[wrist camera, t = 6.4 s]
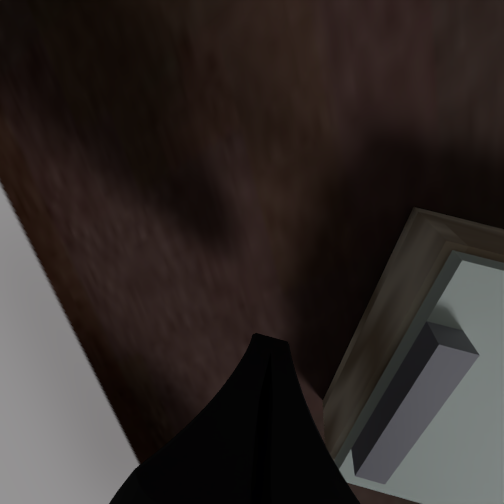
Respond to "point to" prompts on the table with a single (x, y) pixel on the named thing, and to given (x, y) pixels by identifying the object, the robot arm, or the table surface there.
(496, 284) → the lid
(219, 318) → the table surface
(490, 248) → the keepsake box
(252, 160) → the table surface
